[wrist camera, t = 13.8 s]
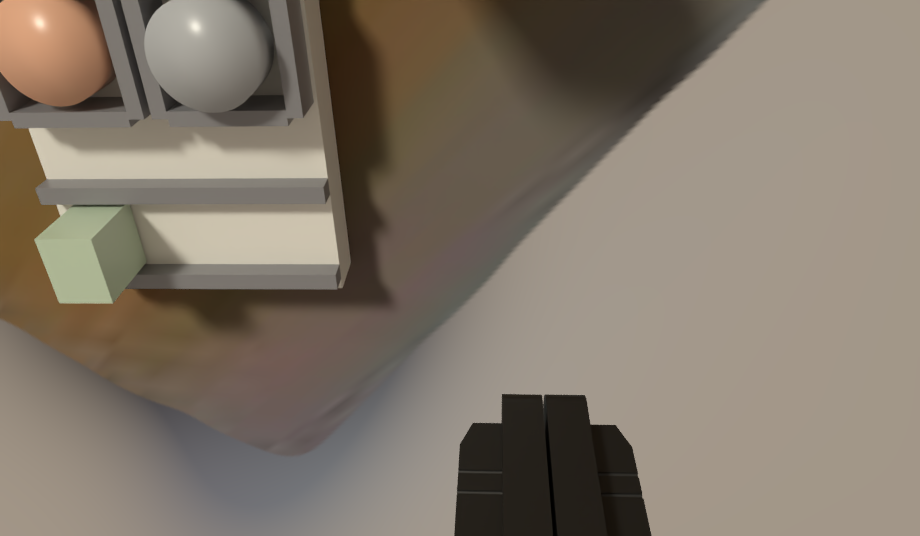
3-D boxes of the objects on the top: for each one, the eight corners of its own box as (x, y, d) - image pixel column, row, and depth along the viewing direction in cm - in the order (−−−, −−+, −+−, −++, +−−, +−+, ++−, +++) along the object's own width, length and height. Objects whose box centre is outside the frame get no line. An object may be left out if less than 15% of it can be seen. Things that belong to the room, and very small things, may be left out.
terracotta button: (0, -15, 34) (-32, -5, 32) (105, -17, 33) (80, -7, 31) (37, 91, 36) (10, 107, 34) (134, 90, 36) (113, 106, 34)
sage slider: (77, 201, 40) (34, 239, 36) (128, 201, 40) (90, 239, 36) (98, 261, 42) (59, 303, 38) (147, 261, 42) (112, 303, 38)
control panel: (-5, -77, 35) (-80, -63, 31) (308, -84, 35) (280, -71, 30) (109, 262, 46) (66, 309, 41) (350, 262, 45) (334, 310, 40)
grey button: (153, -13, 32) (130, -3, 30) (264, -15, 32) (248, -5, 30) (179, 97, 35) (160, 113, 33) (281, 96, 35) (268, 112, 33)
